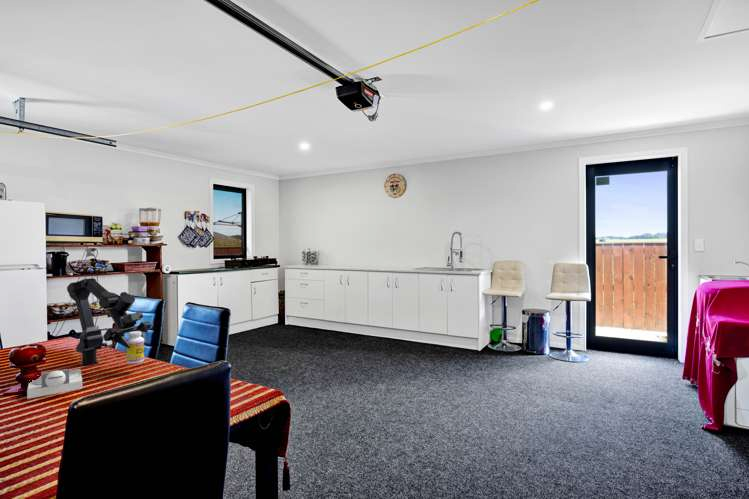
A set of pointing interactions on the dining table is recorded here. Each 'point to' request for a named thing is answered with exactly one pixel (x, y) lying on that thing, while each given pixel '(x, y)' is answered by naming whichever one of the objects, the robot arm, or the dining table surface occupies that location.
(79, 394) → the dining table surface
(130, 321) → the robot arm
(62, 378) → the kitchen scale
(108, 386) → the dining table surface
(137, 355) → the supplement bottle
